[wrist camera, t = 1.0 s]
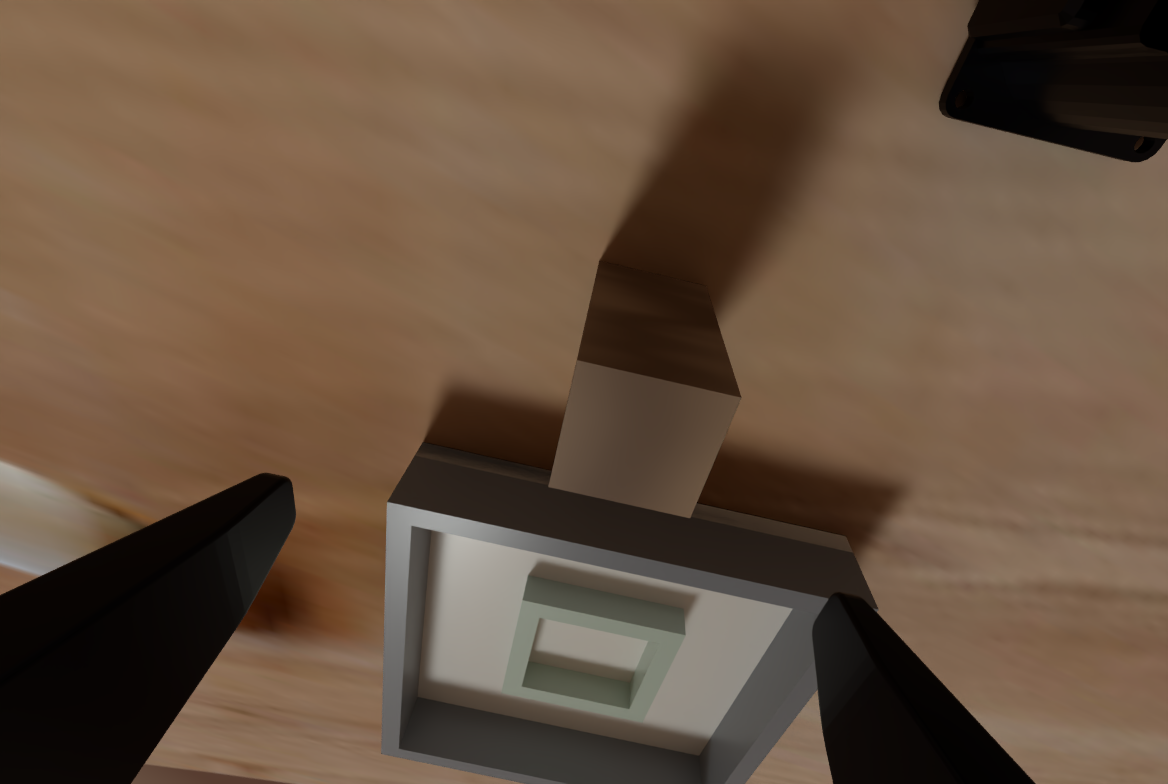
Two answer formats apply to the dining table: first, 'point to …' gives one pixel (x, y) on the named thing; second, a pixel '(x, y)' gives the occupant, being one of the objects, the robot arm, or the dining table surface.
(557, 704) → the walled box
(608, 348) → the peg
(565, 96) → the dining table surface
